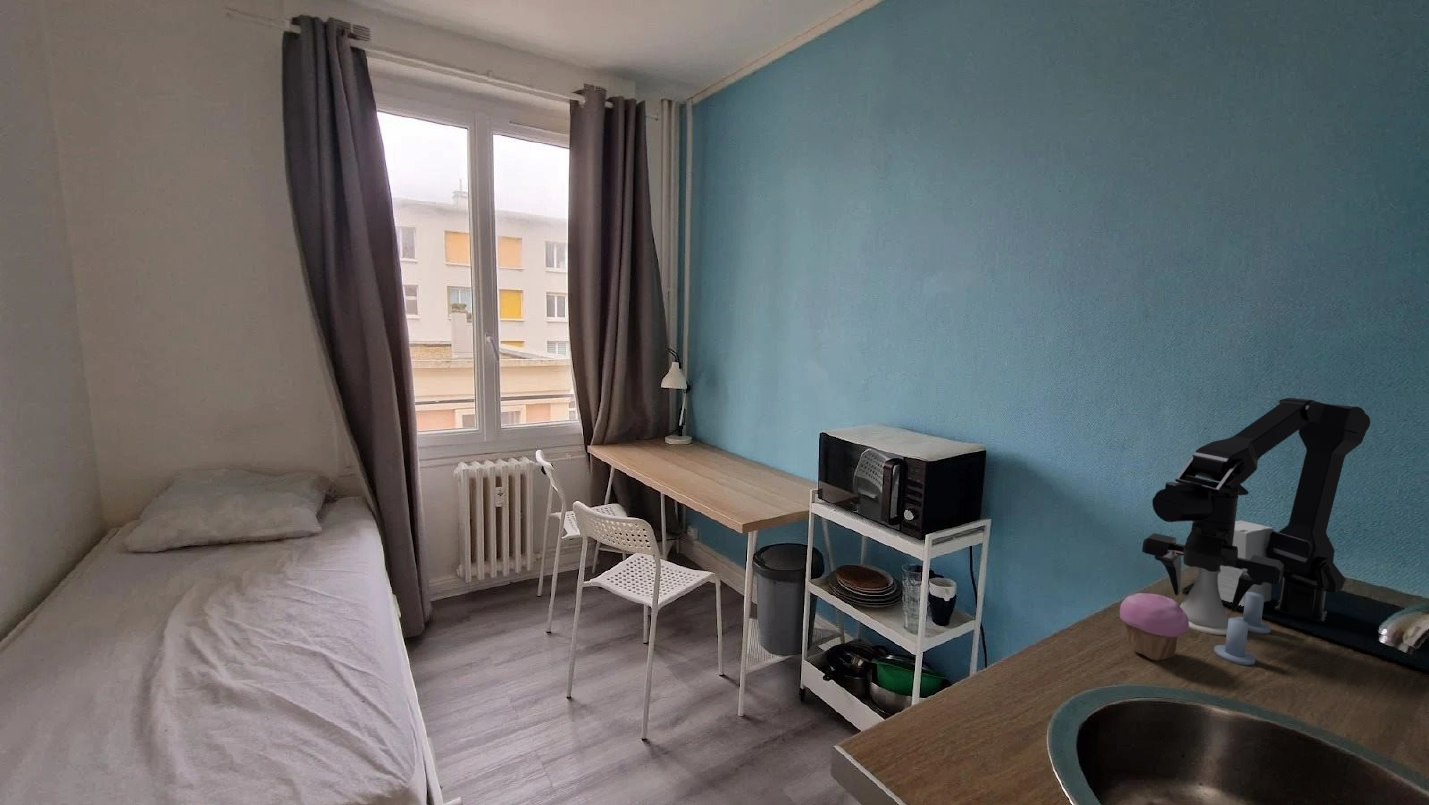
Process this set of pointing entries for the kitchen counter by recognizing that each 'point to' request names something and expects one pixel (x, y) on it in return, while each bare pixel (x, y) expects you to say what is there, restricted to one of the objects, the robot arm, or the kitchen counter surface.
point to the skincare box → (1249, 543)
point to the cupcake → (1153, 624)
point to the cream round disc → (1208, 629)
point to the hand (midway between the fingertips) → (1204, 602)
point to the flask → (1205, 601)
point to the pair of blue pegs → (1243, 631)
